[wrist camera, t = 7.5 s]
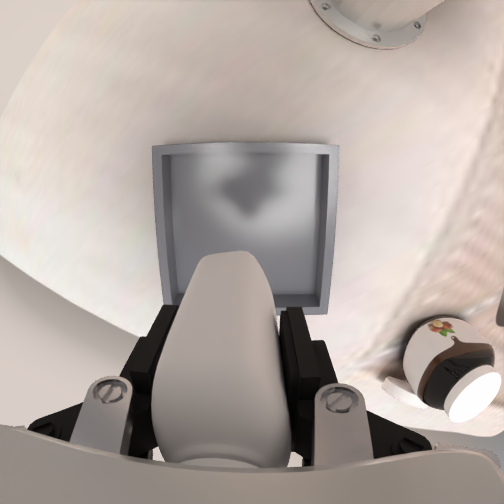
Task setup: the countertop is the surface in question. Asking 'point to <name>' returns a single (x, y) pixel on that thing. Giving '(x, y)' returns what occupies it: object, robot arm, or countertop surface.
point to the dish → (249, 214)
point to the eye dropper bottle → (223, 372)
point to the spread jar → (447, 369)
